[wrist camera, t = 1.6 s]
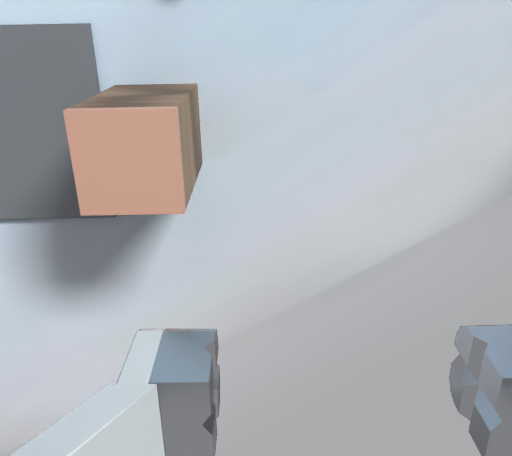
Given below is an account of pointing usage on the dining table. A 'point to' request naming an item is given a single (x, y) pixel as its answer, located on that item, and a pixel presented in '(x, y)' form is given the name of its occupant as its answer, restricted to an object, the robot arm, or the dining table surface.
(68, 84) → the charcoal mat
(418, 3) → the dining table surface
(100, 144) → the brown rectangular block
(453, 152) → the dining table surface
